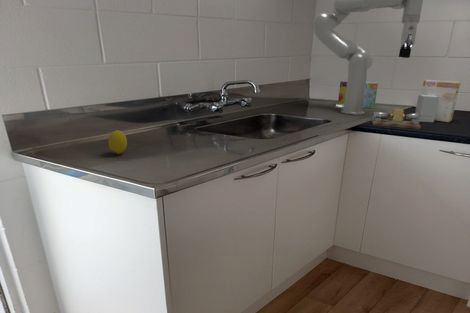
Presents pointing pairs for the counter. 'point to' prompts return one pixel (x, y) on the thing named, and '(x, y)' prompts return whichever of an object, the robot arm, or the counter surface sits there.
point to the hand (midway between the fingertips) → (403, 57)
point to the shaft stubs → (385, 115)
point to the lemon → (117, 141)
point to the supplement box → (427, 107)
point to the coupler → (397, 115)
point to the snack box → (368, 95)
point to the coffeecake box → (442, 97)
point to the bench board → (386, 123)
